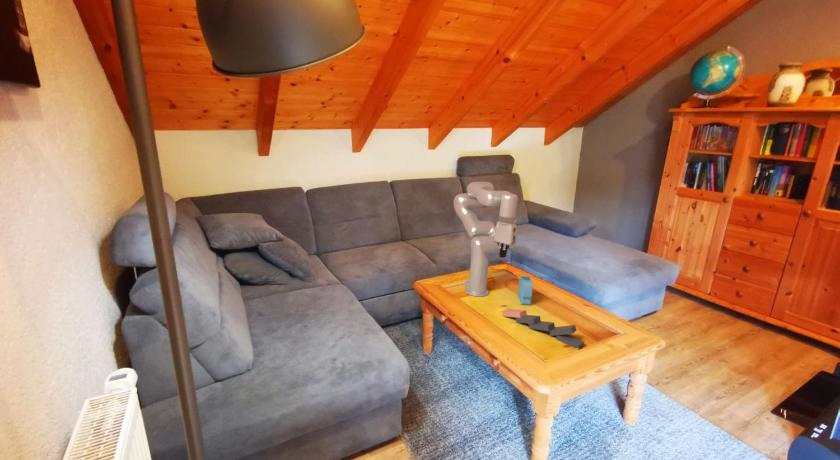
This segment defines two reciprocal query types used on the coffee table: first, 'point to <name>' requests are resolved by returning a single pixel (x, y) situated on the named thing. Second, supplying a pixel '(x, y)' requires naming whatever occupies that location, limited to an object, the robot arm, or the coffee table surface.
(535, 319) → the domino
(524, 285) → the data package
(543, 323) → the domino
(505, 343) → the coffee table surface
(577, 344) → the domino
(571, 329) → the domino
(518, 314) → the domino
